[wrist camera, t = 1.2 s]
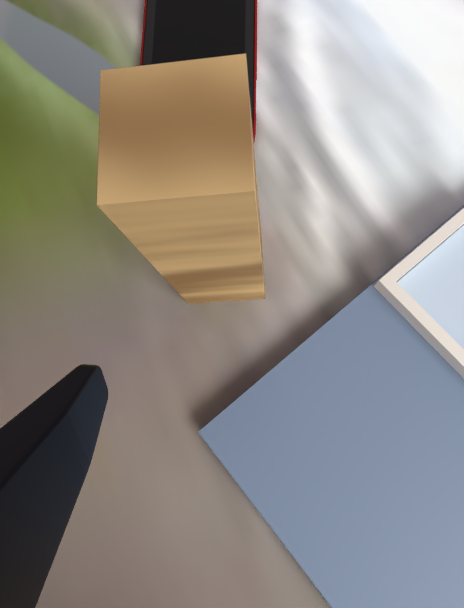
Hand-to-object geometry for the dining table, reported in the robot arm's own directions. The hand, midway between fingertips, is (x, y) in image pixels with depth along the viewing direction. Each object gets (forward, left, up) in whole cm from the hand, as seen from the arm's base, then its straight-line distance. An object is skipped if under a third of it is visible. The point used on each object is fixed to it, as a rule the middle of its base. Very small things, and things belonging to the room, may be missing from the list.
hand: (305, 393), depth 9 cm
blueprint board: (+6, -5, -14) cm, 17 cm away
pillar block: (+2, +8, -14) cm, 17 cm away
